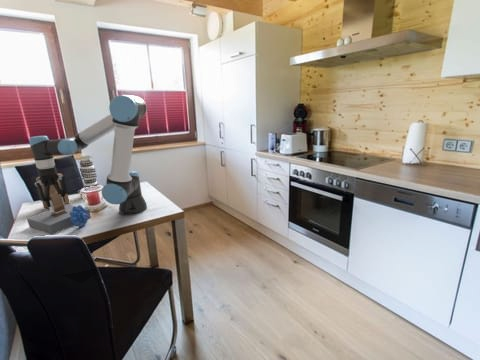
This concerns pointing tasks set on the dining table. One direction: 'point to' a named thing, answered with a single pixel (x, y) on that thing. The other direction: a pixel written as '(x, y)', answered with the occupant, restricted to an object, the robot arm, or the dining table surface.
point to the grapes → (78, 216)
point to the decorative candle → (88, 172)
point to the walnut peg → (57, 205)
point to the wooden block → (53, 191)
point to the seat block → (53, 221)
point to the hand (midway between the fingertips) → (57, 209)
